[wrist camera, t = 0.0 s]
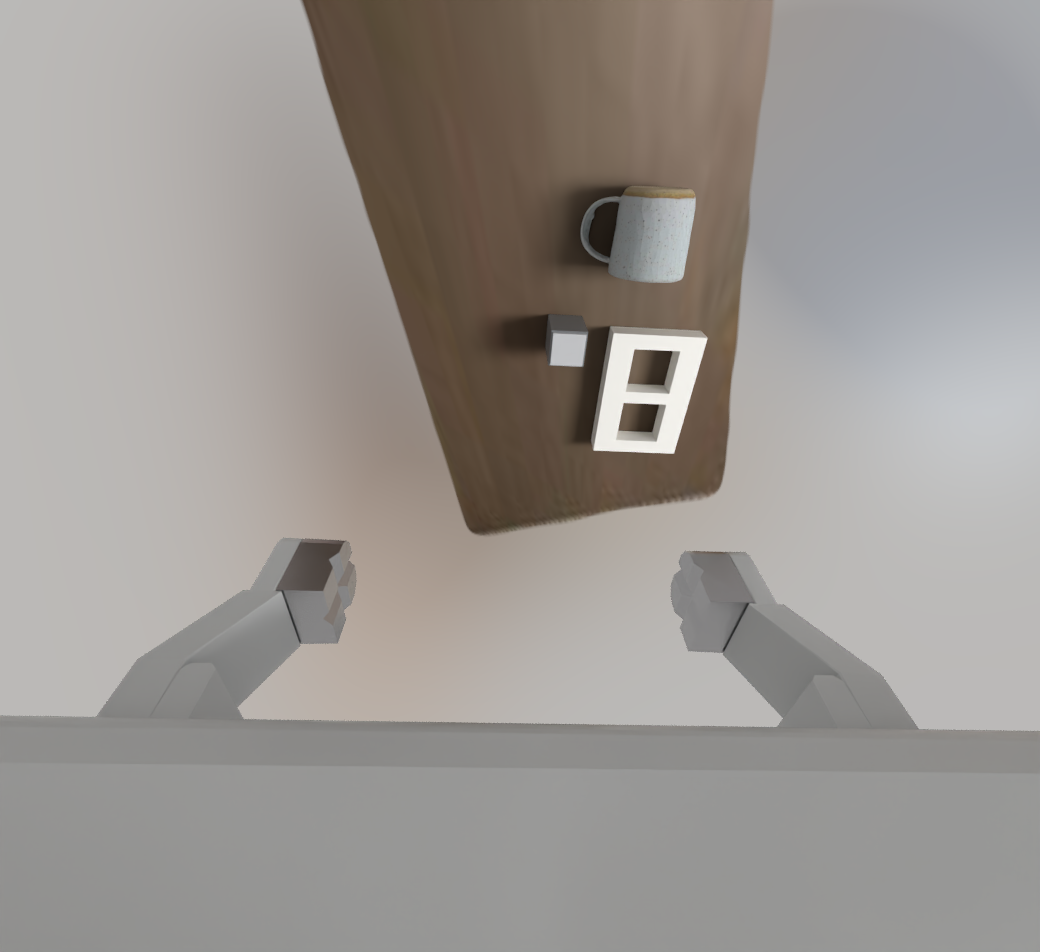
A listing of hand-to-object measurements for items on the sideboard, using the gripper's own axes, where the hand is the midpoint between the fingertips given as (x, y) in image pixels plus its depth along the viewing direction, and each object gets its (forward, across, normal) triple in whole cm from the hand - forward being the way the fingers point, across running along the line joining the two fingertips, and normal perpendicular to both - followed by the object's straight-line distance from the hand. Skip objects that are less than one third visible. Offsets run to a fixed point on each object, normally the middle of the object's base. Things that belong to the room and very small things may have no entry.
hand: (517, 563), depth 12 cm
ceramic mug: (+48, -12, -1) cm, 50 cm away
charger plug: (+48, -6, +10) cm, 50 cm away
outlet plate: (+48, -18, +17) cm, 54 cm away
